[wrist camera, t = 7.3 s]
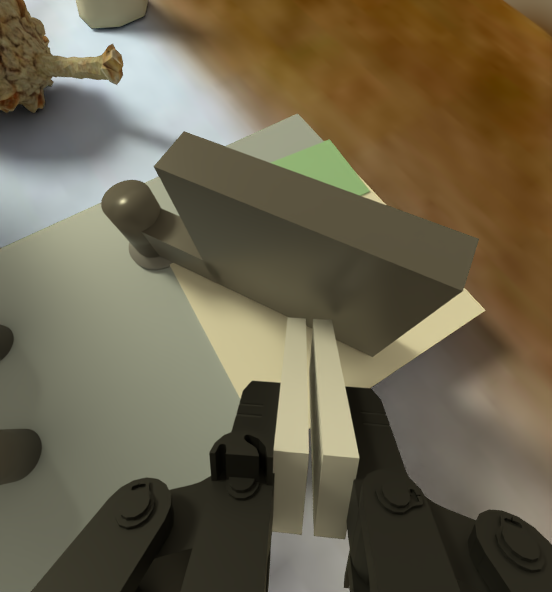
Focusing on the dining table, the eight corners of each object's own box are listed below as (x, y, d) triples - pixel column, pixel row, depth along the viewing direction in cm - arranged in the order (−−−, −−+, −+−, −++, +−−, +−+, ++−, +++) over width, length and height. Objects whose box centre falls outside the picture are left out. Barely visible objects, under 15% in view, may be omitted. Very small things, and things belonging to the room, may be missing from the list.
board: (16, 622, 13) (-130, 732, 9) (-46, 298, 19) (-150, 259, 15) (465, 321, 18) (528, 286, 13) (298, 136, 24) (302, 67, 19)
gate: (126, 247, 17) (6, 118, 10) (151, 216, 18) (57, 75, 11) (369, 364, 14) (458, 305, 7) (386, 321, 15) (483, 226, 8)
